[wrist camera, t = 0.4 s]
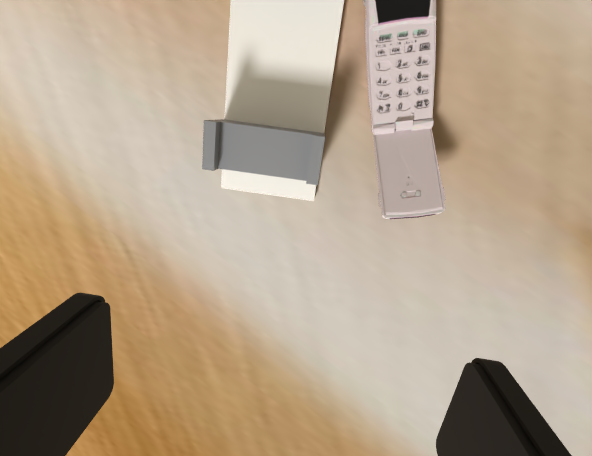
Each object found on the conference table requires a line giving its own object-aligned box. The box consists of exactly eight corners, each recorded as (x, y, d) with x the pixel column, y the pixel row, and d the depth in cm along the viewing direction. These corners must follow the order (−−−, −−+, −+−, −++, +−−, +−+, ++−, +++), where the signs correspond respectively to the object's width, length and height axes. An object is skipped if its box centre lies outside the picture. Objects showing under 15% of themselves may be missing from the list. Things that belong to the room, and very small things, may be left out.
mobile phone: (380, 221, 30) (367, -127, 22) (370, 205, 36) (356, -79, 28) (447, 215, 30) (459, -144, 22) (426, 199, 35) (429, -92, 27)
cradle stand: (240, -119, 27) (214, -196, 21) (359, -105, 27) (372, -178, 20) (223, 186, 36) (201, 202, 29) (314, 198, 36) (312, 218, 29)
